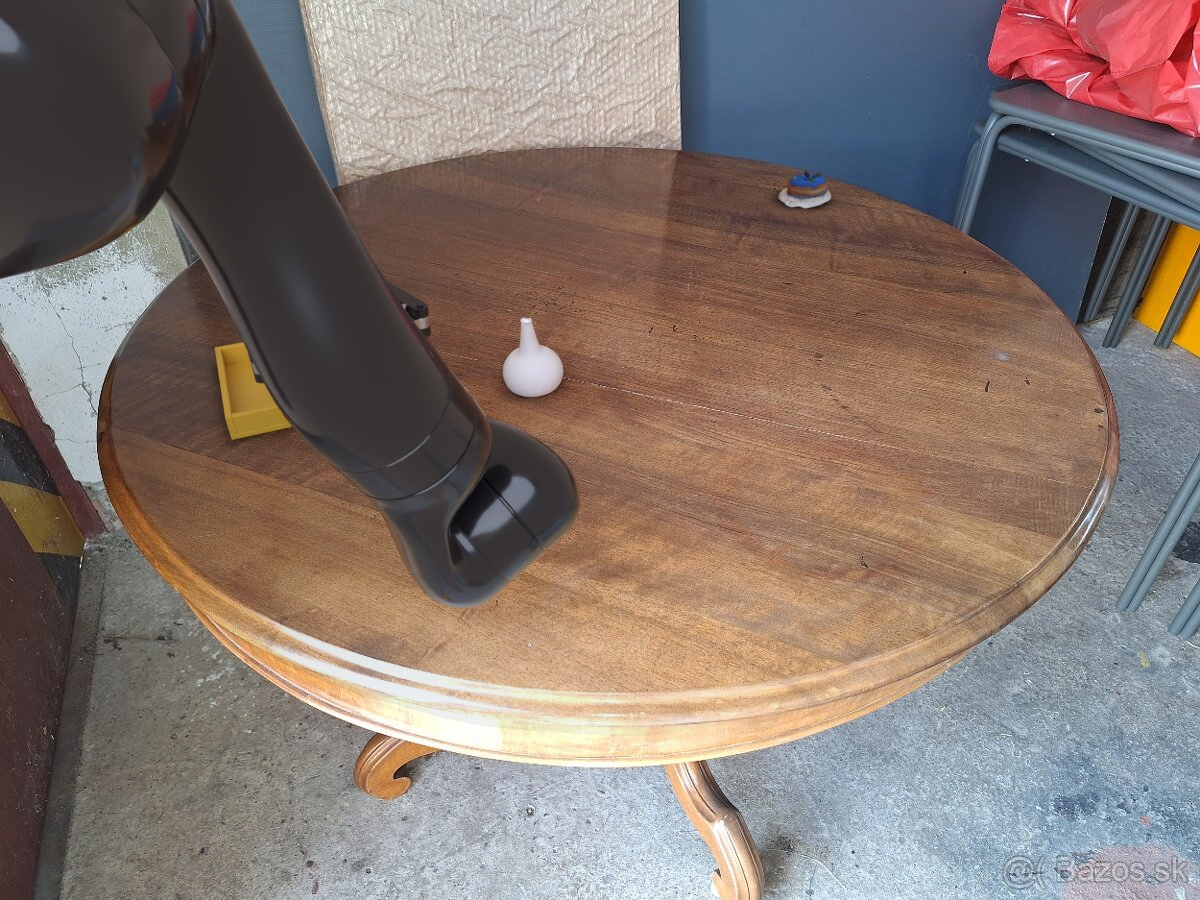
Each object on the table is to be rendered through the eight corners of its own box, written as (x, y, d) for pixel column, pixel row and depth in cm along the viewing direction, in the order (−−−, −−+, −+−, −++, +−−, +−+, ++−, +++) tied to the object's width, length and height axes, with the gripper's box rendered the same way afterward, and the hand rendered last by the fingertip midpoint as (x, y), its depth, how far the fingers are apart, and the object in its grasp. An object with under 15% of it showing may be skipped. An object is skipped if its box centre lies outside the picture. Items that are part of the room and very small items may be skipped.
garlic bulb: (573, 377, 95) (572, 310, 90) (545, 407, 91) (542, 338, 86) (522, 363, 97) (518, 297, 93) (492, 392, 93) (486, 324, 88)
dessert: (818, 181, 139) (829, 158, 133) (830, 218, 137) (842, 197, 131) (769, 189, 138) (779, 166, 132) (780, 226, 136) (791, 205, 130)
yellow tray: (231, 440, 86) (225, 418, 84) (220, 368, 96) (214, 347, 95) (379, 408, 90) (375, 386, 89) (353, 342, 101) (349, 322, 99)
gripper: (470, 310, 62) (380, 228, 74) (262, 368, 56) (199, 269, 67) (479, 400, 67) (392, 310, 78) (287, 463, 60) (224, 355, 72)
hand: (303, 291), depth 73 cm, fingers closed on lemon, 5 cm apart
